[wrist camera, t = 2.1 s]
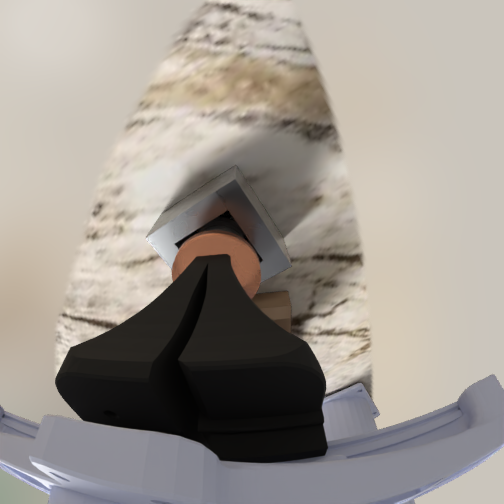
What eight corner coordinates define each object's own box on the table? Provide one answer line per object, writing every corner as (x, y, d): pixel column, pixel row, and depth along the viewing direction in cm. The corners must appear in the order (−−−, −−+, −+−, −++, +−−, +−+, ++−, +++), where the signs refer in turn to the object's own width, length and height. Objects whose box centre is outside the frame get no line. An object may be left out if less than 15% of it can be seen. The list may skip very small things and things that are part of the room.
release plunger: (269, 248, 15) (277, 288, 12) (212, 280, 16) (206, 323, 13) (231, 191, 13) (228, 219, 10) (171, 229, 14) (154, 265, 11)
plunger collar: (283, 238, 16) (292, 266, 14) (211, 278, 18) (207, 310, 15) (236, 165, 14) (235, 179, 12) (160, 214, 15) (145, 238, 13)
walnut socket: (287, 290, 18) (291, 305, 17) (287, 363, 22) (289, 378, 20) (173, 299, 18) (169, 314, 17) (196, 369, 22) (194, 384, 20)
